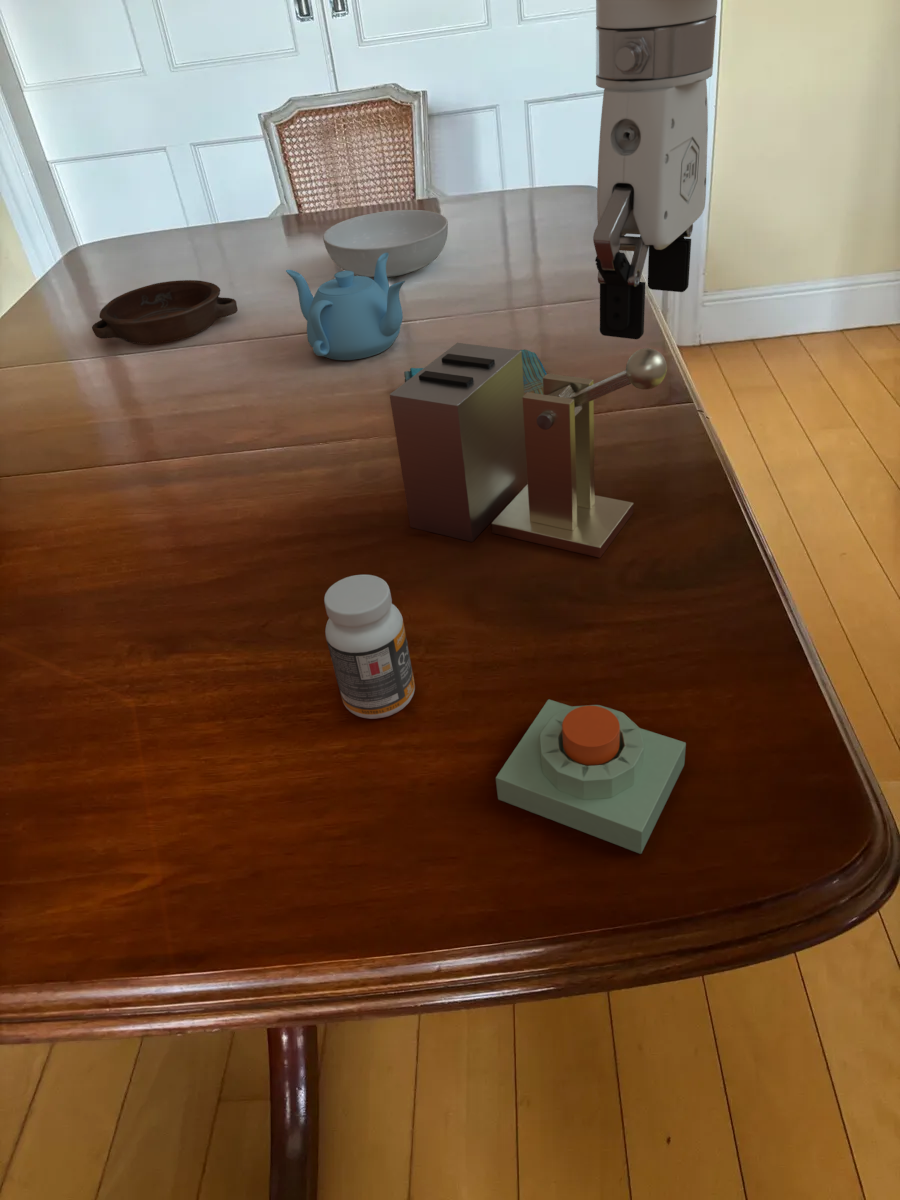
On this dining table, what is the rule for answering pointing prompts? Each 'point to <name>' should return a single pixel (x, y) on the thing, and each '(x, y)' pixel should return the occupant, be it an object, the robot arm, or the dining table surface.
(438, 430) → the toaster
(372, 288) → the teapot
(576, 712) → the timer button
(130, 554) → the dining table surface
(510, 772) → the timer block
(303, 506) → the dining table surface
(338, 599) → the pill bottle
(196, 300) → the dish
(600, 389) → the lever
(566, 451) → the bracket
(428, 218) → the serving bowl
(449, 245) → the dining table surface
